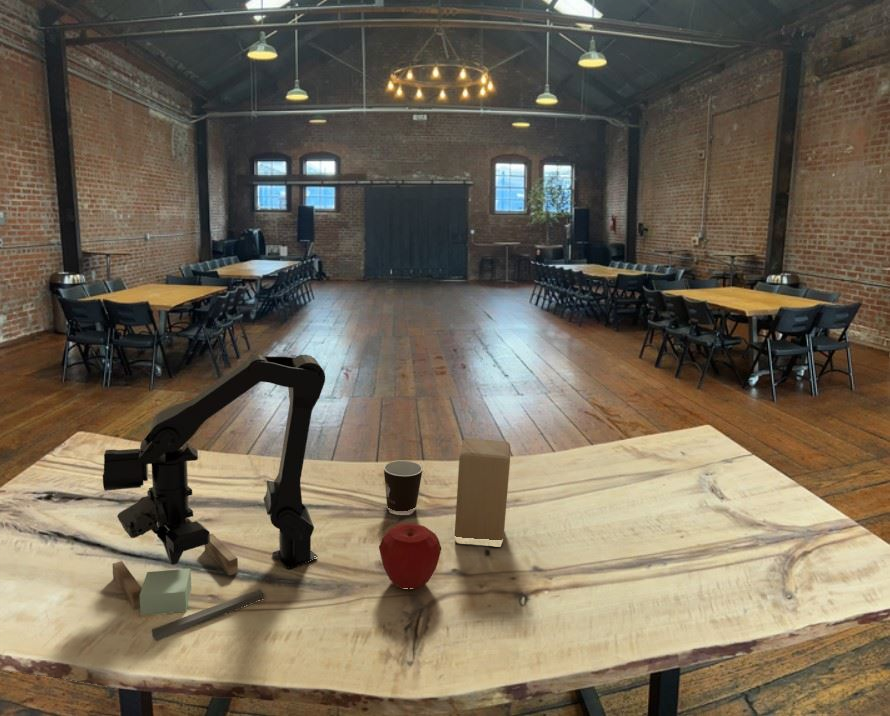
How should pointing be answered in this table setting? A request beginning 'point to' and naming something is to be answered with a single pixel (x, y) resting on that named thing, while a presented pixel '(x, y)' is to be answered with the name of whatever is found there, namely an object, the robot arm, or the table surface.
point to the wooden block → (482, 489)
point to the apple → (409, 554)
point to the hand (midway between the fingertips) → (173, 563)
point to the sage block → (165, 592)
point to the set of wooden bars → (231, 567)
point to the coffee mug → (402, 484)
